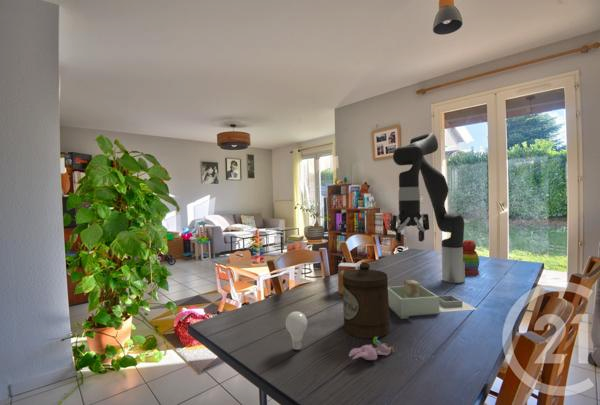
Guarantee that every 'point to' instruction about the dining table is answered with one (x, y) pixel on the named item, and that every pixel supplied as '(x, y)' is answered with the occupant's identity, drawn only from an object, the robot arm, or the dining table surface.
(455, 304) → the socket
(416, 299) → the bin
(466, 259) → the stacking bear
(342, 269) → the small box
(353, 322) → the wooden container
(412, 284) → the strut
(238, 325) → the dining table surface
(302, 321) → the lightbulb
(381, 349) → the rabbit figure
